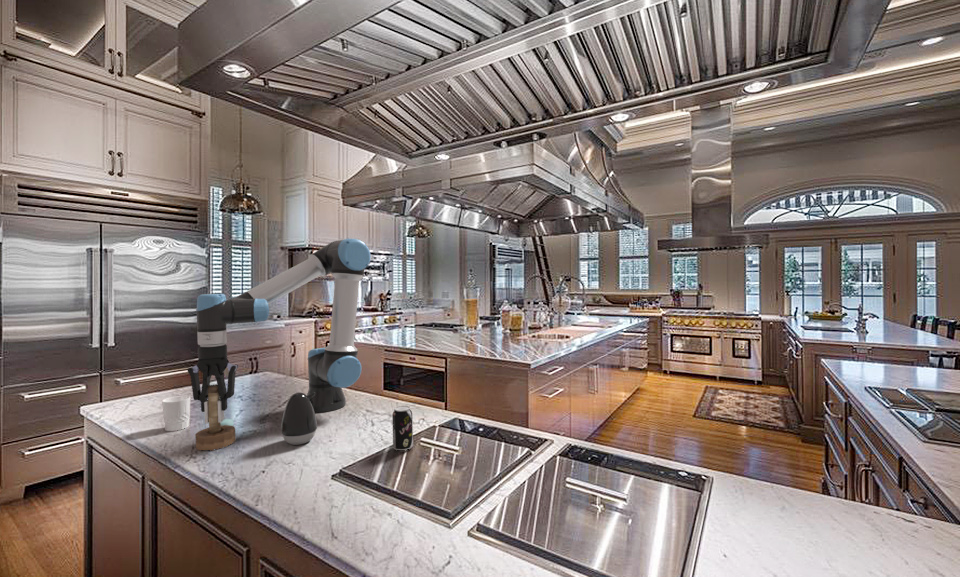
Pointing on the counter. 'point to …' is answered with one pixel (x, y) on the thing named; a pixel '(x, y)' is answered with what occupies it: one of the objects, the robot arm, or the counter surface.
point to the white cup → (176, 412)
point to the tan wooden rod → (213, 409)
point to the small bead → (227, 422)
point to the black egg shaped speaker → (299, 419)
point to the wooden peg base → (215, 438)
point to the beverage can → (402, 428)
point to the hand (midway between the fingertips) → (214, 421)
